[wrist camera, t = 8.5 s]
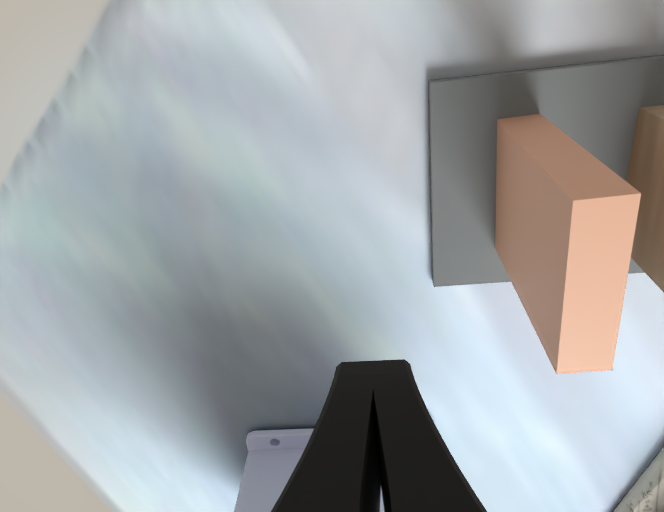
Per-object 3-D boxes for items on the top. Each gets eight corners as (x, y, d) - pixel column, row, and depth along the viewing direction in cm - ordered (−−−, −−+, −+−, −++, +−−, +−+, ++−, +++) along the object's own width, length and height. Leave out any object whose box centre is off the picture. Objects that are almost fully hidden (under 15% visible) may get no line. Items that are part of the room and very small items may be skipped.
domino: (495, 248, 19) (556, 374, 13) (497, 119, 17) (573, 200, 11) (532, 244, 19) (612, 370, 13) (540, 113, 17) (640, 193, 11)
